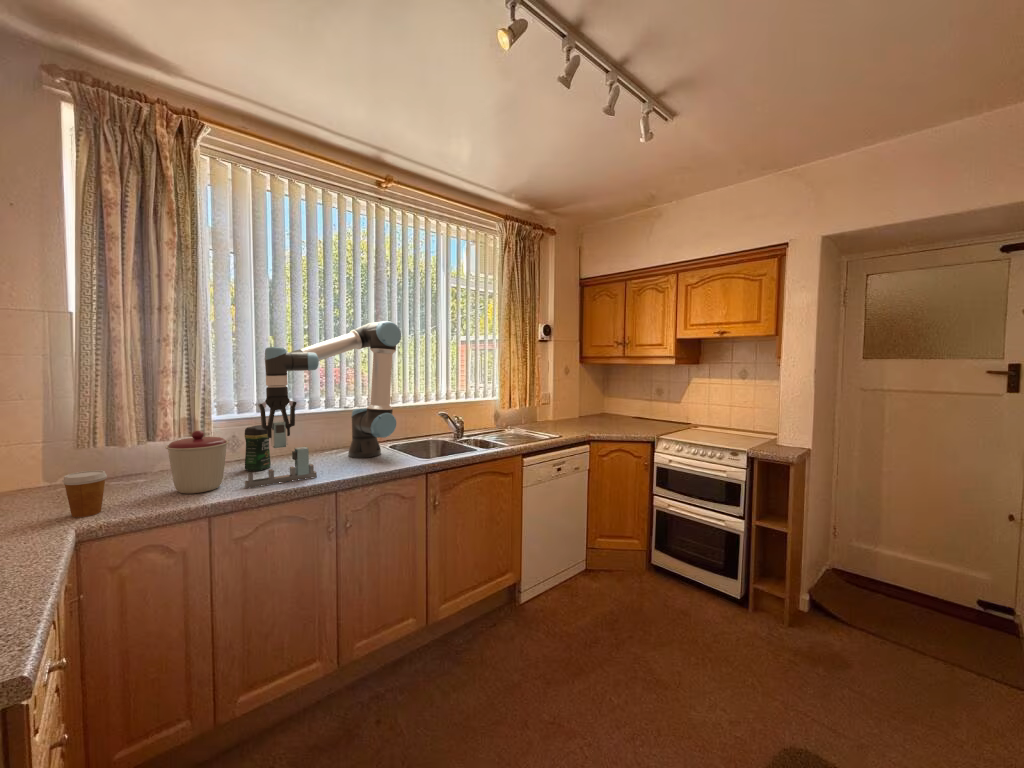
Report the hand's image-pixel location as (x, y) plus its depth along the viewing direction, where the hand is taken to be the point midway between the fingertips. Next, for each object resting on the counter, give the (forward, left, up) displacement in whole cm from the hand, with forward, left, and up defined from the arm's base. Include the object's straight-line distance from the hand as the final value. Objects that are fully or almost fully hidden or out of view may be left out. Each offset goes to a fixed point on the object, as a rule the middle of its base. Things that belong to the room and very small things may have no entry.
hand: (279, 445), depth 173 cm
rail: (+1, +10, -12) cm, 16 cm away
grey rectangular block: (0, 0, -1) cm, 1 cm away
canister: (+26, +3, -13) cm, 29 cm away
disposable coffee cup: (+54, +12, -13) cm, 57 cm away
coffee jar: (+4, -18, -13) cm, 22 cm away
